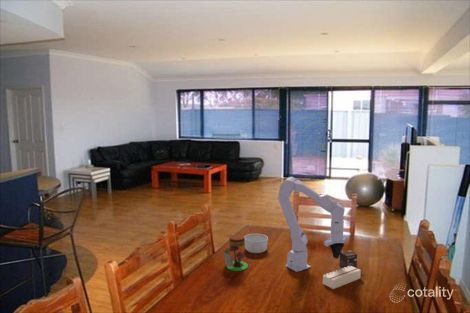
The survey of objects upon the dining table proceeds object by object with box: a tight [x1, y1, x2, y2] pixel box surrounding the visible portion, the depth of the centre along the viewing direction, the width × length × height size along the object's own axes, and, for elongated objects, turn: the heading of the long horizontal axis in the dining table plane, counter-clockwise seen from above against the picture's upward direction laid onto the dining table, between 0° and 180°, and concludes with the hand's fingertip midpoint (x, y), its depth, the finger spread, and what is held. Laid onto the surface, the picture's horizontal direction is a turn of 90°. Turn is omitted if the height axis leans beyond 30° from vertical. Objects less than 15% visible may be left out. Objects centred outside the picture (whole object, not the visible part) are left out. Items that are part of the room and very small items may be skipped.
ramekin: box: [244, 233, 269, 254], centre depth 208 cm, size 13×13×7 cm
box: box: [338, 250, 358, 269], centre depth 184 cm, size 6×6×7 cm
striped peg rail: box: [322, 266, 362, 290], centre depth 170 cm, size 18×6×4 cm, turn 124°
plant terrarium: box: [224, 234, 249, 272], centre depth 186 cm, size 12×13×15 cm
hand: (335, 257), depth 179 cm, fingers closed
